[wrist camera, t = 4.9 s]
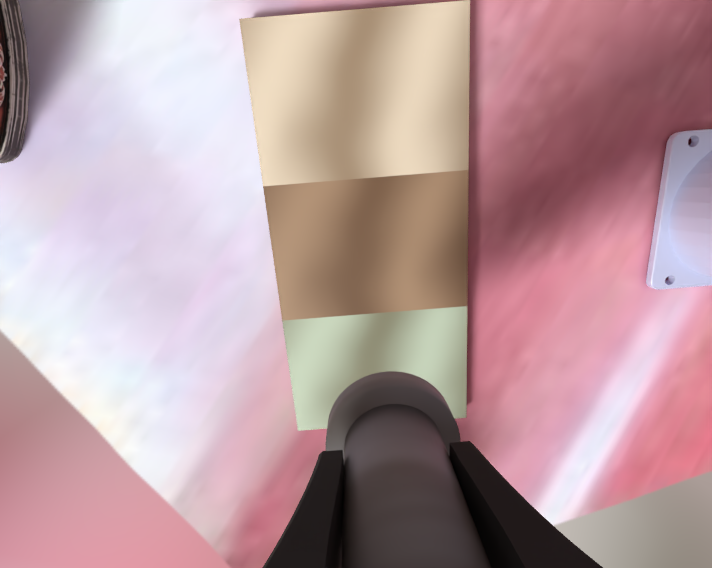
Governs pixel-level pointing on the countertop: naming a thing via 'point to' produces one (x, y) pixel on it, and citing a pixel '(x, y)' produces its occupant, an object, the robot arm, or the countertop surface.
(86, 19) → the countertop surface
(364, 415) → the pawn
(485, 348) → the countertop surface
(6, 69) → the lighter
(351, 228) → the board
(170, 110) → the countertop surface
